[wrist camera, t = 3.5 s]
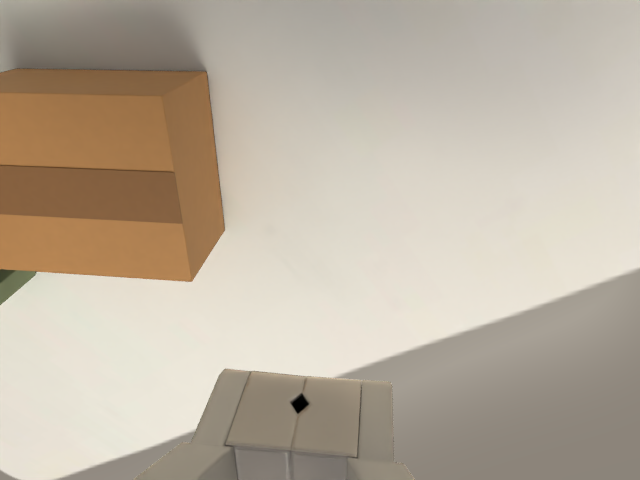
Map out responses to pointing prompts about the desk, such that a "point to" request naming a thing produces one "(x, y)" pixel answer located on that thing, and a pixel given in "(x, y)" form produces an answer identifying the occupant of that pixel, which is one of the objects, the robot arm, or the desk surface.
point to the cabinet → (12, 282)
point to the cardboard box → (108, 173)
